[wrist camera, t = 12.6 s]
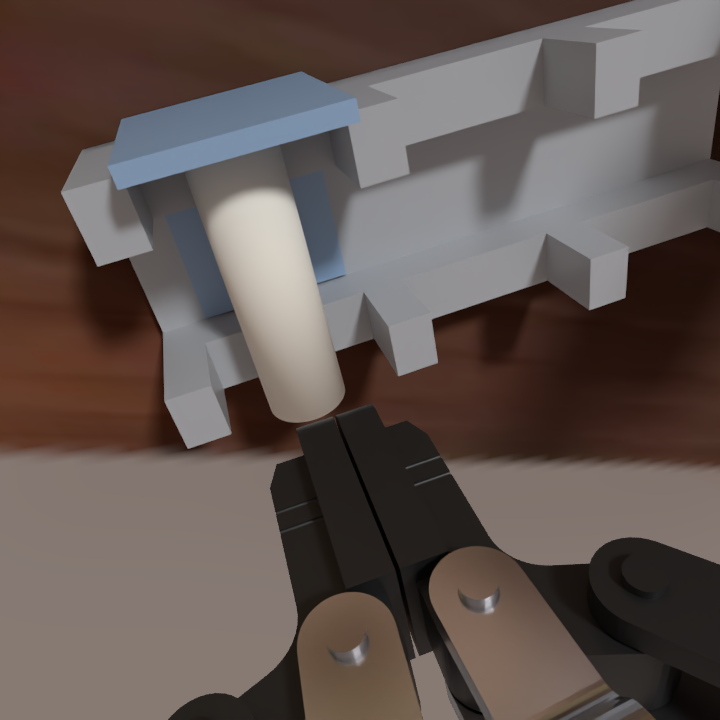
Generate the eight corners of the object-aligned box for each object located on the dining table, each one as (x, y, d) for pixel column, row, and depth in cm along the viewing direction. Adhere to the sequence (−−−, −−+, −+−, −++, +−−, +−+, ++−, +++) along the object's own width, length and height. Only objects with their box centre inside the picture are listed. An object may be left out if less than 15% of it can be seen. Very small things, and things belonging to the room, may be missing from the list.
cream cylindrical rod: (181, 137, 19) (169, 161, 16) (272, 114, 19) (275, 134, 16) (269, 384, 24) (271, 430, 22) (340, 366, 24) (350, 410, 22)
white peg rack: (74, 131, 20) (40, 184, 14) (727, -42, 23) (916, -57, 17) (182, 369, 25) (189, 476, 20) (696, 201, 29) (830, 251, 23)
